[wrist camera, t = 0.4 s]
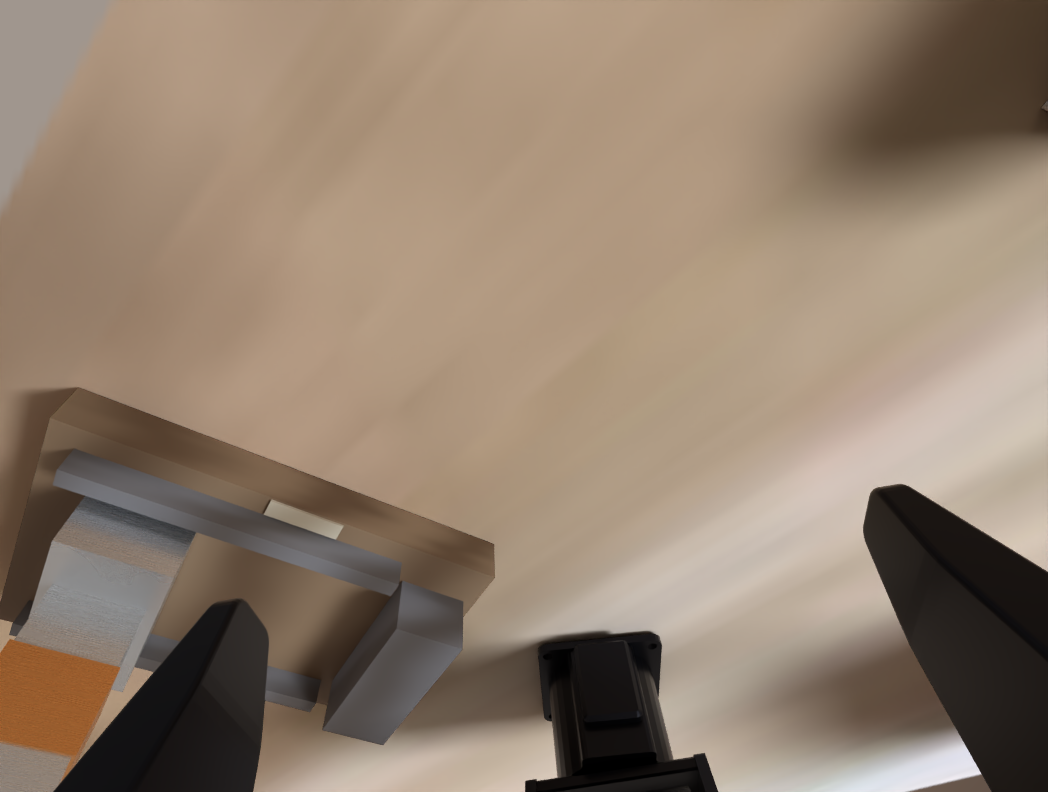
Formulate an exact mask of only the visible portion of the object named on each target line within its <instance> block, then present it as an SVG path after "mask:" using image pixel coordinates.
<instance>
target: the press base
mask: <svg viewBox="0 0 1048 792" xmlns="http://www.w3.org/2000/svg"><path fill="white" fill-rule="evenodd" d="M85 496H87V497H90V498H93V499H97V500H100V501H103V502H106V503H109V504H112V505H115V506H118V507H121V508H124V509H127V510H130V511H133V512H136V513H139V514H142V515H145V516H148V517H151V518H154V519H157V520H160V521H163V522H166V523H169V524H172V525H176V526H179V527H182V528H185V529H188V530H191V531H194V532H197V533H196V535H195V537H194V540H193V542H192V544H191V546H190V548H189V551H188V553H187V555H186V557H185V559H184V562H183V564H182V566H181V568H180V571H179V573H178V575H177V577H176V579H175V582H174V584H173V586H172V588H171V590H170V593H169V595H168V597H167V599H166V601H165V604H164V606H163V608H162V610H161V613H160V615H159V617H158V619H157V621H156V624H155V626H154V628H153V630H152V632H151V634H150V636H149V638H148V640H147V643H146V645H145V647H144V649H143V651H142V653H141V655H140V657H139V659H138V661H137V663H136V665H135V667H137V668H141V669H145V670H148V671H152V672H154V671H155V670H156V669H157V668H158V667H159V666H160V664H161V663H162V662H163V661H164V660H165V658H166V657H167V656H168V655H169V654H170V653H171V651H172V650H173V649H174V648H175V647H176V645H177V644H178V643H179V642H180V641H181V640H182V638H183V637H184V636H185V635H186V634H187V632H188V631H189V630H190V629H191V628H192V626H193V625H194V624H195V623H196V622H197V621H198V619H199V618H200V617H201V616H202V615H203V613H204V612H205V611H206V610H207V609H208V608H209V607H210V606H211V605H212V604H213V603H215V602H218V601H223V600H229V599H234V598H242V599H244V600H246V601H247V602H248V604H249V605H250V607H251V608H252V609H253V611H254V612H255V613H256V615H257V616H258V618H259V619H260V620H261V622H262V623H263V624H264V626H265V627H266V629H267V632H268V636H269V653H268V666H267V679H266V692H265V701H269V702H273V703H277V704H281V705H284V706H288V707H292V708H296V709H300V710H304V711H308V712H310V711H311V710H312V708H313V707H314V705H315V704H316V702H317V703H321V704H325V705H327V710H326V715H325V720H324V724H323V729H322V730H324V731H328V732H332V733H336V734H340V735H344V736H348V737H352V738H356V739H360V740H364V741H368V742H372V743H376V744H380V745H384V743H385V742H386V741H387V740H388V739H389V737H390V736H391V735H392V734H393V733H394V731H395V730H396V729H397V728H398V726H399V725H400V724H401V723H402V722H403V720H404V719H405V718H406V717H407V716H408V714H409V713H410V712H411V711H412V710H413V708H414V707H415V706H416V705H417V704H418V702H419V701H420V700H421V699H422V698H423V696H424V695H425V694H426V693H427V691H428V690H429V689H430V688H431V687H432V685H433V684H434V683H435V682H436V681H437V679H438V678H439V677H440V676H441V675H442V673H443V672H444V671H445V670H446V669H447V667H448V666H449V665H450V664H451V663H452V661H453V660H454V659H455V658H456V656H457V655H458V654H459V653H460V652H461V650H462V645H463V617H464V616H465V614H466V613H467V612H468V611H469V609H470V608H471V607H472V606H473V604H474V603H475V602H476V601H477V599H478V598H479V597H480V596H481V594H482V593H483V592H484V591H485V589H486V588H487V587H488V586H489V584H490V583H491V582H492V581H493V579H494V578H495V564H494V544H492V543H489V542H486V541H484V540H481V539H478V538H476V537H473V536H471V535H468V534H465V533H463V532H460V531H457V530H455V529H452V528H449V527H447V526H444V525H441V524H439V523H436V522H433V521H431V520H428V519H425V518H423V517H420V516H417V515H415V514H412V513H410V512H407V511H404V510H402V509H399V508H396V507H394V506H391V505H388V504H386V503H383V502H380V501H378V500H375V499H372V498H370V497H367V496H364V495H362V494H359V493H356V492H354V491H351V490H349V489H346V488H343V487H341V486H338V485H335V484H333V483H330V482H327V481H325V480H322V479H319V478H317V477H314V476H311V475H309V474H306V473H303V472H301V471H298V470H296V469H293V468H290V467H288V466H285V465H282V464H280V463H277V462H274V461H272V460H269V459H266V458H264V457H261V456H258V455H256V454H253V453H250V452H248V451H245V450H242V449H240V448H237V447H235V446H232V445H229V444H227V443H224V442H221V441H219V440H216V439H213V438H211V437H208V436H205V435H203V434H200V433H197V432H195V431H192V430H189V429H187V428H184V427H181V426H179V425H176V424H174V423H171V422H168V421H166V420H163V419H160V418H158V417H155V416H152V415H150V414H147V413H144V412H142V411H139V410H136V409H134V408H131V407H128V406H126V405H123V404H120V403H118V402H115V401H113V400H110V399H107V398H105V397H102V396H99V395H97V394H94V393H91V392H89V391H86V390H83V389H81V388H78V389H77V390H76V391H75V392H74V393H73V394H72V395H71V396H70V397H69V398H68V399H67V400H66V401H65V402H64V403H63V405H62V406H61V407H60V408H59V409H58V410H57V411H56V412H55V413H54V414H53V415H52V416H51V417H50V419H49V423H48V427H47V431H46V434H45V438H44V442H43V445H42V449H41V453H40V457H39V460H38V464H37V468H36V472H35V475H34V479H33V483H32V486H31V490H30V494H29V498H28V501H27V505H26V509H25V513H24V516H23V520H22V524H21V527H20V531H19V535H18V539H17V542H16V546H15V550H14V554H13V557H12V561H11V565H10V568H9V572H8V576H7V580H6V583H5V587H4V591H3V595H2V598H1V602H0V619H2V620H6V621H10V622H13V624H12V627H11V631H10V634H9V635H12V636H17V635H18V633H19V632H20V631H21V629H22V628H23V626H24V625H25V623H26V622H27V620H28V618H29V615H30V612H31V609H32V605H33V602H34V599H35V595H36V592H37V589H38V586H39V582H40V579H41V576H42V572H43V569H44V566H45V563H46V559H47V556H48V553H49V550H50V546H51V543H52V540H53V539H54V537H55V536H56V535H57V533H58V532H59V531H60V529H61V528H62V527H63V525H64V524H65V523H66V521H67V520H68V518H69V517H70V516H71V514H72V513H73V512H74V510H75V509H76V508H77V506H78V505H79V504H80V502H81V501H82V499H83V498H84V497H85Z"/></svg>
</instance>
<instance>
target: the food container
mask: <svg viewBox="0 0 1048 792" xmlns="http://www.w3.org/2000/svg"><path fill="white" fill-rule="evenodd" d="M1041 108H1042V109H1043V110H1044V111H1046V112H1047V113H1048V101H1047V102H1046V103H1045V104H1044V105H1043V106H1042V107H1041Z"/></svg>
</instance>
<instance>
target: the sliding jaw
mask: <svg viewBox="0 0 1048 792" xmlns="http://www.w3.org/2000/svg"><path fill="white" fill-rule="evenodd" d="M196 533H197V532H194V531H191V530H188V529H185V528H182V527H179V526H176V525H172V524H169V523H166V522H163V521H160V520H157V519H154V518H151V517H148V516H145V515H142V514H139V513H136V512H133V511H130V510H127V509H124V508H121V507H118V506H115V505H112V504H109V503H106V502H103V501H100V500H97V499H93V498H90V497H87V496H85V497H84V498H83V499H82V501H81V502H80V504H79V505H78V506H77V508H76V509H75V510H74V512H73V513H72V514H71V516H70V517H69V518H68V520H67V521H66V523H65V524H64V525H63V527H62V528H61V529H60V531H59V532H58V533H57V535H56V536H55V537H54V539H53V540H52V543H51V546H50V550H49V553H48V556H47V559H46V563H45V566H44V569H43V572H42V576H41V579H40V582H39V586H38V589H37V592H36V595H35V599H34V602H33V605H32V609H31V612H30V615H29V618H28V620H27V622H26V623H25V625H24V626H23V628H22V629H21V631H20V632H19V633H18V635H17V636H16V638H15V639H14V640H11V639H10V640H9V641H8V643H7V644H6V646H5V647H4V648H3V650H2V651H1V653H0V792H53V791H54V790H55V789H56V787H57V786H58V785H59V784H60V783H61V782H62V780H63V779H64V778H65V777H66V776H67V774H68V773H69V772H70V771H71V770H72V768H73V767H74V766H75V765H76V763H77V761H78V759H79V757H80V755H81V753H82V751H83V749H84V747H85V745H86V743H87V741H88V739H89V737H90V735H91V733H92V731H93V729H94V727H95V725H96V723H97V721H98V719H99V716H100V714H101V712H102V709H103V707H104V705H105V702H106V700H107V698H108V696H109V693H110V691H111V689H112V690H116V691H120V692H123V690H124V688H125V686H126V684H127V682H128V679H129V677H130V675H131V673H132V671H133V669H134V667H135V665H136V663H137V661H138V659H139V657H140V655H141V653H142V651H143V649H144V647H145V645H146V643H147V640H148V638H149V636H150V634H151V632H152V630H153V628H154V626H155V624H156V621H157V619H158V617H159V615H160V613H161V610H162V608H163V606H164V604H165V601H166V599H167V597H168V595H169V593H170V590H171V588H172V586H173V584H174V582H175V579H176V577H177V575H178V573H179V571H180V568H181V566H182V564H183V562H184V559H185V557H186V555H187V553H188V551H189V548H190V546H191V544H192V542H193V540H194V537H195V535H196Z"/></svg>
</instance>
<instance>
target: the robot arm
mask: <svg viewBox="0 0 1048 792" xmlns="http://www.w3.org/2000/svg"><path fill="white" fill-rule="evenodd" d="M863 533H864V538H865V542H866V545H867V547H868V549H869V552H870V554H871V556H872V559H873V561H874V563H875V566H876V568H877V571H878V573H879V575H880V578H881V580H882V582H883V585H884V587H885V589H886V592H887V594H888V596H889V599H890V601H891V603H892V606H893V608H894V611H895V613H896V615H897V618H898V620H899V622H900V625H901V627H902V629H903V631H904V634H905V636H906V638H907V640H908V642H909V645H910V646H911V648H912V650H913V652H914V654H915V656H916V658H917V660H918V662H919V663H920V665H921V667H922V669H923V670H924V672H925V674H926V676H927V678H928V679H929V681H930V683H931V685H932V686H933V688H934V690H935V692H936V694H937V695H938V697H939V699H940V701H941V702H942V704H943V706H944V708H945V710H946V711H947V713H948V715H949V717H950V719H951V720H952V722H953V724H954V726H955V727H956V729H957V731H958V733H959V735H960V736H961V738H962V740H963V742H964V743H965V745H966V747H967V749H968V751H969V752H970V754H971V756H972V758H973V759H974V761H975V763H976V765H977V767H978V768H979V770H980V772H981V774H982V775H983V777H984V779H985V781H986V783H987V784H988V786H989V788H990V790H991V791H992V792H1048V572H1047V571H1046V570H1044V569H1042V568H1041V567H1039V566H1038V565H1036V564H1034V563H1033V562H1031V561H1029V560H1028V559H1026V558H1025V557H1023V556H1021V555H1020V554H1018V553H1017V552H1015V551H1013V550H1012V549H1010V548H1008V547H1007V546H1005V545H1004V544H1002V543H1000V542H999V541H997V540H995V539H994V538H992V537H991V536H989V535H987V534H986V533H984V532H982V531H981V530H979V529H978V528H976V527H974V526H973V525H971V524H969V523H968V522H966V521H965V520H963V519H961V518H960V517H958V516H956V515H955V514H953V513H952V512H950V511H948V510H947V509H945V508H943V507H942V506H940V505H939V504H937V503H935V502H934V501H932V500H930V499H929V498H927V497H926V496H924V495H922V494H921V493H919V492H917V491H916V490H914V489H913V488H911V487H909V486H906V485H903V484H896V485H890V486H884V487H878V488H875V489H874V490H873V491H872V492H871V493H870V496H869V501H868V506H867V511H866V515H865V520H864V525H863ZM661 650H662V644H661V641H660V637H659V636H658V635H656V634H645V635H635V636H624V637H614V638H604V639H594V640H584V641H573V642H563V643H553V644H545V645H542V646H540V647H539V648H538V659H539V669H540V679H541V689H542V699H543V709H544V718H545V719H546V720H547V721H552V726H553V736H554V746H555V756H556V766H557V776H558V778H554V779H548V780H541V781H537V779H534V780H527V781H525V792H718V790H717V787H716V784H715V781H714V779H713V776H712V773H711V770H710V767H709V764H708V761H707V758H706V755H705V753H701V754H695V755H693V757H689V758H683V759H676V760H673V755H672V751H671V747H670V743H669V739H668V735H667V731H666V727H665V723H664V719H663V715H662V711H661V707H660V703H659V699H658V696H659V681H660V665H661ZM268 653H269V636H268V632H267V629H266V627H265V626H264V624H263V623H262V622H261V620H260V619H259V618H258V616H257V615H256V613H255V612H254V611H253V609H252V608H251V607H250V605H249V604H248V602H247V601H246V600H244V599H242V598H234V599H229V600H223V601H218V602H215V603H213V604H212V605H211V606H210V607H209V608H208V609H207V610H206V611H205V612H204V613H203V615H202V616H201V617H200V618H199V619H198V621H197V622H196V623H195V624H194V625H193V626H192V628H191V629H190V630H189V631H188V632H187V634H186V635H185V636H184V637H183V638H182V640H181V641H180V642H179V643H178V644H177V645H176V647H175V648H174V649H173V650H172V651H171V653H170V654H169V655H168V656H167V657H166V658H165V660H164V661H163V662H162V663H161V664H160V666H159V667H158V668H157V669H156V670H155V671H154V673H153V674H152V675H151V676H150V677H149V679H148V680H147V681H146V682H145V683H144V684H143V686H142V687H141V688H140V689H139V690H138V692H137V693H136V694H135V695H134V696H133V697H132V699H131V700H130V701H129V702H128V703H127V705H126V706H125V707H124V708H123V709H122V711H121V712H120V713H119V714H118V715H117V716H116V718H115V719H114V720H113V721H112V722H111V724H110V725H109V726H108V727H107V728H106V729H105V731H104V732H103V733H102V734H101V735H100V737H99V738H98V739H97V740H96V741H95V742H94V744H93V745H92V746H91V747H90V748H89V750H88V751H87V752H86V753H85V754H84V755H83V757H82V758H81V759H80V760H79V761H78V763H77V764H76V765H75V766H74V767H73V768H72V770H71V771H70V772H69V773H68V774H67V776H66V777H65V778H64V779H63V780H62V782H61V783H60V784H59V785H58V786H57V787H56V789H55V790H54V791H53V792H253V789H254V783H255V778H256V773H257V767H258V761H259V755H260V749H261V740H262V730H263V717H264V704H265V692H266V679H267V666H268Z"/></svg>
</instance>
